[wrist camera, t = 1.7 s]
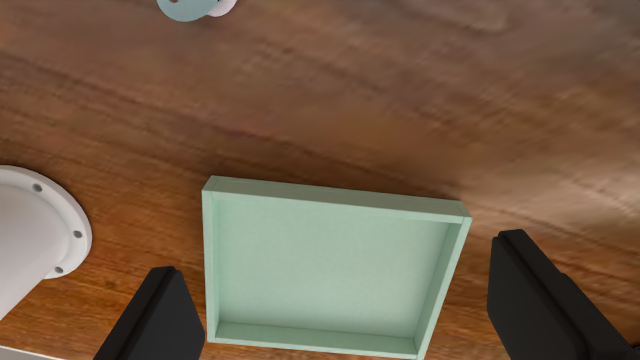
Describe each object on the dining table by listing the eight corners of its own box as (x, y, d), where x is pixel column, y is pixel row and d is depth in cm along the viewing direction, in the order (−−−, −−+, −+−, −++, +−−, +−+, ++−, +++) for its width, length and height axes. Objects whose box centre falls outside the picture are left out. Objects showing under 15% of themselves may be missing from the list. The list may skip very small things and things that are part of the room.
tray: (214, 320, 42) (207, 342, 39) (211, 174, 33) (201, 189, 31) (416, 337, 43) (423, 360, 40) (461, 200, 34) (473, 217, 32)
